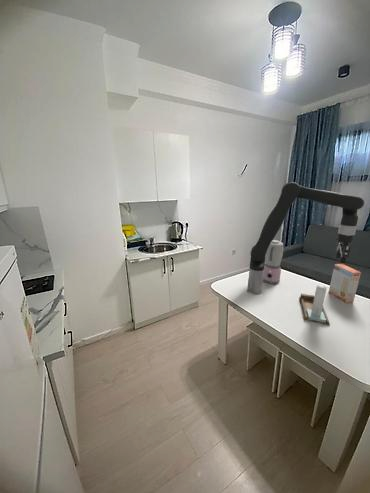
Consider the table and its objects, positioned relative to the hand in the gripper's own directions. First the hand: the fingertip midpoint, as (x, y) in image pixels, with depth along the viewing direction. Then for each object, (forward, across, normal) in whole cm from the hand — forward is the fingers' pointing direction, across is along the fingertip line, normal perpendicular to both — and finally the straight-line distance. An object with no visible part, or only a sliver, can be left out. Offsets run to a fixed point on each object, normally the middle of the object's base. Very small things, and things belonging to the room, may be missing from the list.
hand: (339, 260), depth 118 cm
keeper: (+28, +19, -11) cm, 36 cm away
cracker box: (+29, -12, +8) cm, 33 cm away
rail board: (+29, +11, -11) cm, 33 cm away
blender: (+30, -19, -35) cm, 49 cm away
